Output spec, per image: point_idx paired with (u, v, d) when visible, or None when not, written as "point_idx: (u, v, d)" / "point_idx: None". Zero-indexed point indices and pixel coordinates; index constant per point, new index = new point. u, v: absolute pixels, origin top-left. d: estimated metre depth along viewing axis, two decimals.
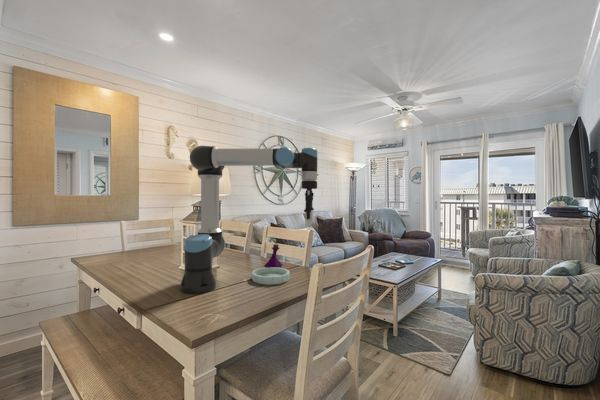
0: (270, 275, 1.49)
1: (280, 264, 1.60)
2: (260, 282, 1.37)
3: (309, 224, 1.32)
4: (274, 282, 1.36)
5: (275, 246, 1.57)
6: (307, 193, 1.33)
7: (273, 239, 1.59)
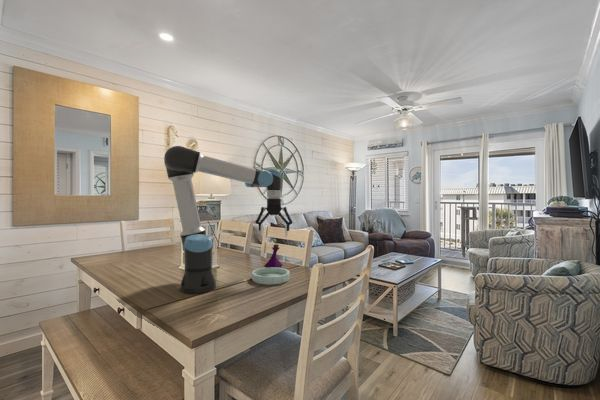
0: (270, 275, 1.49)
1: (280, 264, 1.60)
2: (260, 282, 1.37)
3: None
4: (274, 282, 1.36)
5: (275, 246, 1.57)
6: None
7: (273, 239, 1.59)
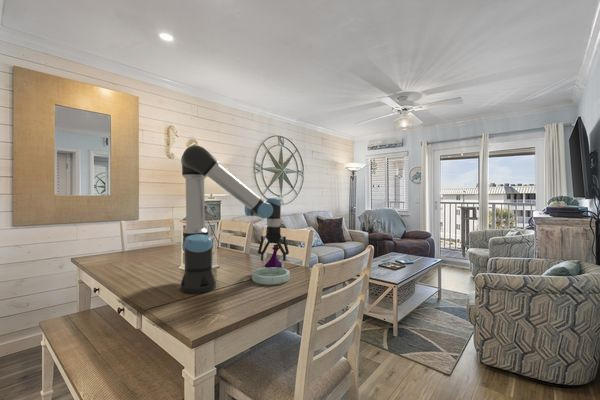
0: (270, 275, 1.49)
1: (280, 264, 1.60)
2: (260, 282, 1.37)
3: None
4: (274, 282, 1.36)
5: (275, 246, 1.57)
6: None
7: None
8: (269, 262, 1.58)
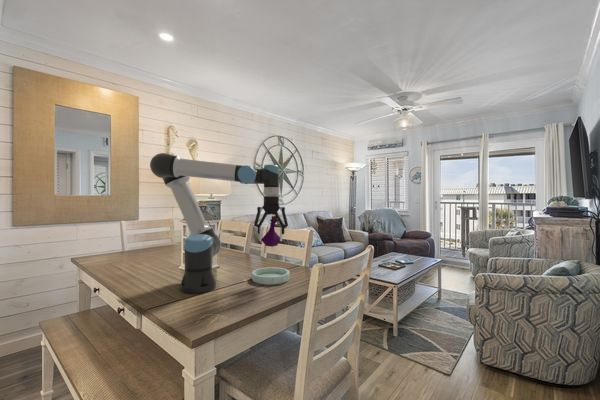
0: (270, 275, 1.49)
1: (279, 238, 1.45)
2: (260, 282, 1.37)
3: None
4: (274, 282, 1.36)
5: (273, 218, 1.43)
6: None
7: None
8: (266, 235, 1.44)
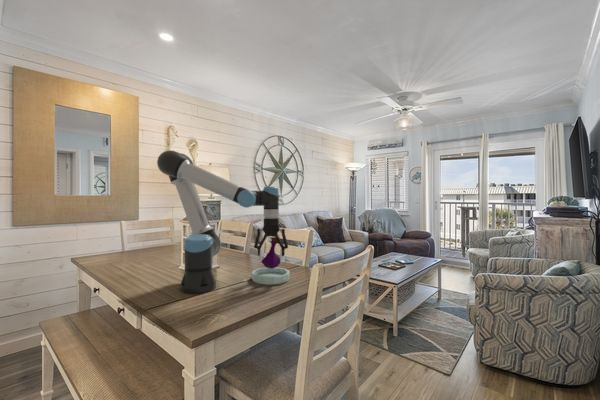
0: (270, 275, 1.49)
1: (279, 259, 1.45)
2: (260, 282, 1.37)
3: None
4: (274, 282, 1.36)
5: (273, 239, 1.43)
6: None
7: None
8: (267, 257, 1.44)
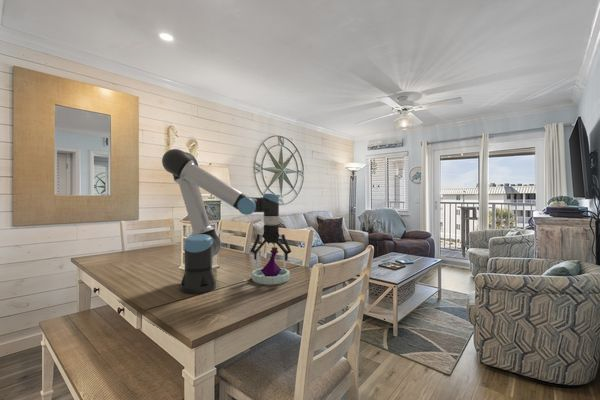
0: None
1: (279, 269, 1.46)
2: (260, 282, 1.37)
3: None
4: (274, 282, 1.36)
5: (274, 249, 1.43)
6: None
7: None
8: (266, 267, 1.44)
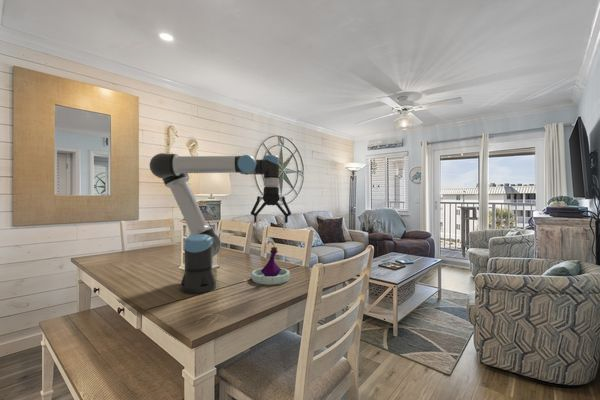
0: None
1: (278, 269, 1.46)
2: (260, 282, 1.37)
3: None
4: (274, 282, 1.36)
5: (273, 249, 1.44)
6: None
7: (271, 241, 1.45)
8: (266, 267, 1.44)
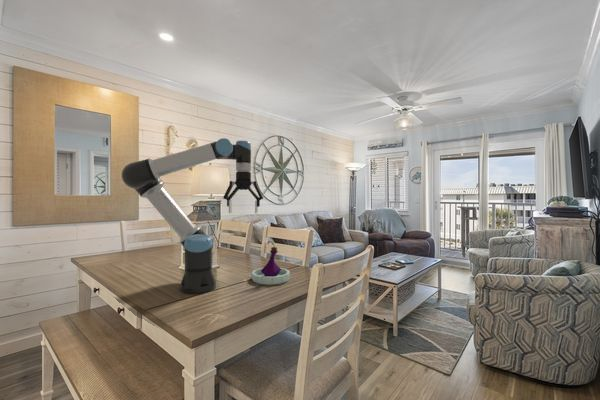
0: None
1: (278, 269, 1.46)
2: (260, 282, 1.37)
3: None
4: (274, 282, 1.36)
5: (273, 249, 1.44)
6: None
7: (271, 241, 1.45)
8: (266, 267, 1.44)
